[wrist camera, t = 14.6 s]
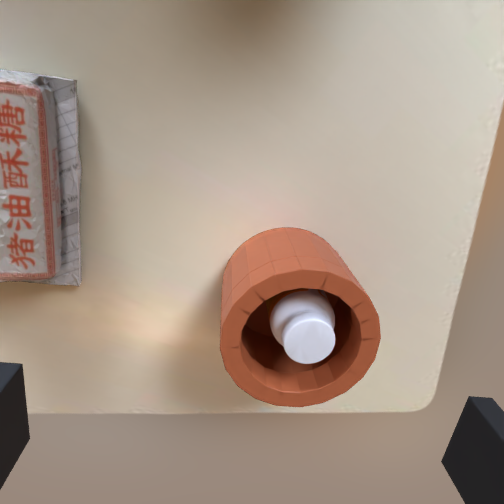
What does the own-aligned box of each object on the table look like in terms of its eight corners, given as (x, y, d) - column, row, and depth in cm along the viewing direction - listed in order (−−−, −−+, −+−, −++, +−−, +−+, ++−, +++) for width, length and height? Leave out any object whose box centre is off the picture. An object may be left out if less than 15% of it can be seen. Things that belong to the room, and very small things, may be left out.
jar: (283, 200, 36) (302, 235, 27) (369, 280, 40) (412, 336, 30) (196, 290, 39) (187, 350, 30) (284, 358, 42) (300, 430, 33)
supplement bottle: (255, 301, 39) (263, 362, 30) (275, 253, 37) (290, 302, 28) (304, 316, 40) (327, 379, 31) (326, 270, 38) (357, 323, 29)
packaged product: (-100, 54, 26) (56, 76, 27) (-52, 61, 31) (81, 79, 32) (-61, 295, 33) (65, 306, 34) (-26, 272, 37) (84, 282, 38)
